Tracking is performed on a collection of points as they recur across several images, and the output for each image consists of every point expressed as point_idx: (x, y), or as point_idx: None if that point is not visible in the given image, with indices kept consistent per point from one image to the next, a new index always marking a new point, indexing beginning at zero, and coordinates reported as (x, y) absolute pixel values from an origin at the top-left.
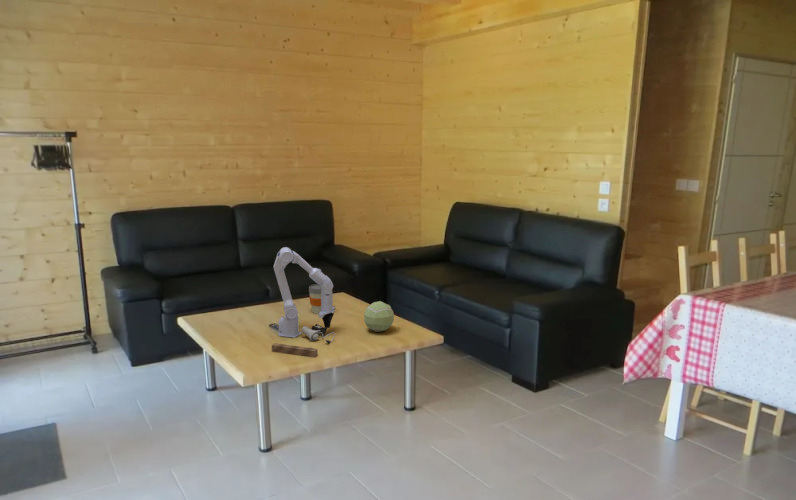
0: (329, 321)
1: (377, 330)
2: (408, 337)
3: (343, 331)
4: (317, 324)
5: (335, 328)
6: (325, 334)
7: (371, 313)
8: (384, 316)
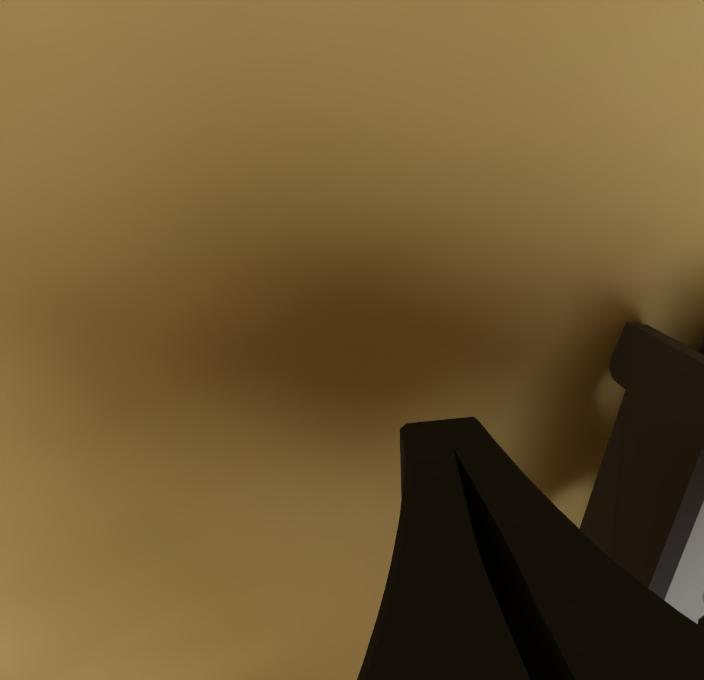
0: (569, 562)
1: None
2: None
3: (181, 8)
4: None
5: (96, 354)
6: (635, 325)
7: None
8: None
